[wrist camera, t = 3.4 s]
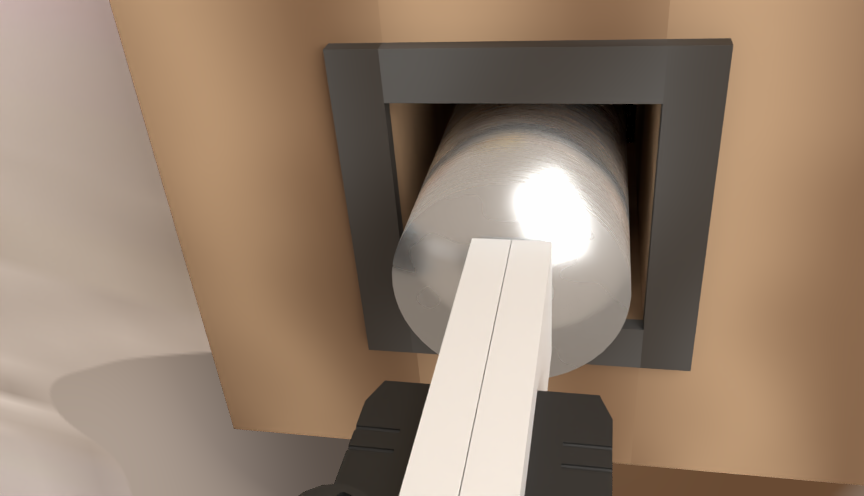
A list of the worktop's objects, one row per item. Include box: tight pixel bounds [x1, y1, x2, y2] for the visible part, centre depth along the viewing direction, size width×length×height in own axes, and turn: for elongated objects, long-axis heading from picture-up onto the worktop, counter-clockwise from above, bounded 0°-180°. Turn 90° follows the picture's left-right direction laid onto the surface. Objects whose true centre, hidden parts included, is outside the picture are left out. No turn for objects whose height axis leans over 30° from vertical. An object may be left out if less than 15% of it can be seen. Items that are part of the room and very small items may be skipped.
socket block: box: [109, 0, 864, 485], centre depth 22 cm, size 18×16×10 cm
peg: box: [392, 103, 631, 377], centre depth 20 cm, size 5×5×9 cm
